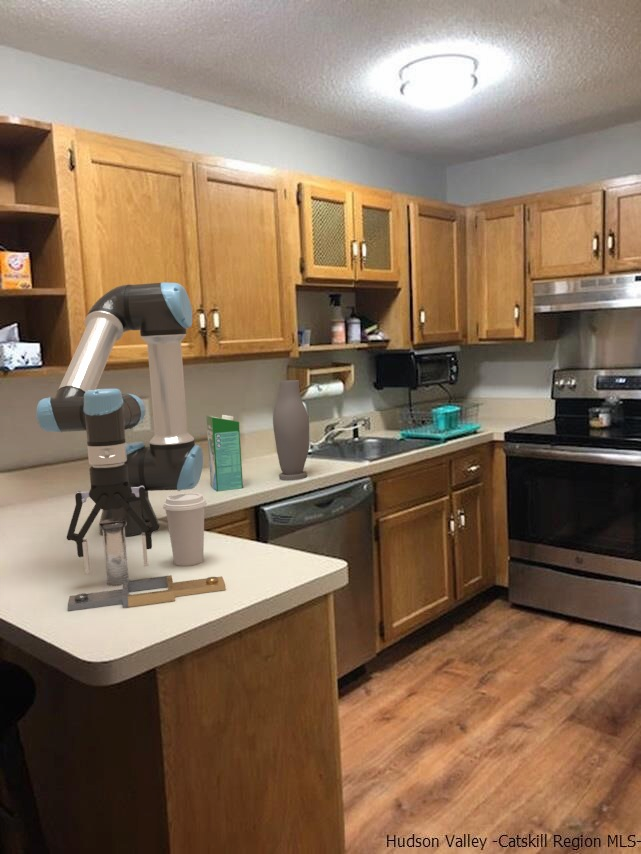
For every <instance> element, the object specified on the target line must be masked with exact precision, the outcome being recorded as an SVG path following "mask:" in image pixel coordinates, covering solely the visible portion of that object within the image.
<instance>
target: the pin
mask: <svg viewBox="0 0 641 854" xmlns="http://www.w3.org/2000/svg"><path fill="white" fill-rule="evenodd" d="M98 523H99V524H100V529H103V535H102V539H103V549H104V550H103V551H104V563H105V572H106V573H105V574H106V584H107V585H108V586H111V585H112V587H113V586H116V585H117V586H122V585H121V584H123V581H130V577H129V567H128V566H129V564H128V552H127V551H128V550H127V541H126V536H125V526H126V525H127V520H126V519H124V518H113V519H107V520H103V521H101V522H100V521H99V522H98ZM99 524H98V525H99Z"/></svg>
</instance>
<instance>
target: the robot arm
mask: <svg viewBox="0 0 641 854" xmlns="http://www.w3.org/2000/svg"><path fill="white" fill-rule="evenodd" d="M83 324H84V328H85V330H84V332H83V333H82V336H81V339H80V341H79V343H78V345H77V347H76V350H75V352H74V354H73V356H72V359H71V361H70V363H69V365H68V367H67V369H66V371H65V374H64V376H63V379H62V380H61V382H60V385H59V387H58V390H57V391H56V393H55V395H54V397H52V396H49V397H44V398H42V399H41V400H39V401H38V403H37V406H36V412H35V417H36V421H37V423H38V424H39V427H40V429H41V430H43V431H44V432H48V433H50V432H51V433H65V432H66V433H67V432H69V433H70V432H84V431H85V433H86V441H87V445H86V446H87V455H88V457H87V458H88V464H89V465H91V466H90V467H89V480H90V481H89V482H90V490H89V491H81V490H78V491H76V493H75V497H74V498H75V506H74V509H73V510H74V511H73V513H72V516H71V521H70V524H69V527H68V530H67V534H66V540H67V541H74V542H75V543H76V551H77V556H78V557H79V558H83V564H84V565H83V566H84V567H83V569H84V574H85V575H86V574H89V573H90V569H91V567H90V559H89V548H88V547H89V546H88V538H85V537H86V534H87V532H89V530H90V528H91V526H92V524H93V522H94V521H95V520H96V519H97V516H98V514H99V513H100V511H101V510H102V511H101V515H100V519H99V523H100V522H101V521H103V520H107V519H113V518H124V519H126V520H127V525H126V526H125V537H128V536H129V537H130V536H136V535H141V543H142V554H143V555H142V556H143V557H142V559H143V566H144V567H148V566H149V564H148V552H147V550H152V547H153V542H152V539H153V538H152V534H153V533H155V532H158V531H159V530H160V523H159V522H158V518H157V515H156V513H155V511H154V508H153V506H152V504H151V501H150V498H149V492H150V491H178V492H181V491H184V490H185V491H186V490H193V489H194V488H195V487H197V485H198V484H199V482H200V479H201V476H202V472H203V465H204V454H203V449H202V447H201V446H200V445H198V444H195V438H194V436H193V435H191V434H190V433H189V430H188V429H189V428H188V417H187V415H188V414H187V405H186V404H187V403H186V390H185V378H184V377H185V376H184V365H183V364H184V362H183V352H182V341H183V340H184V338H186V336H187V329H189V328H191V327H192V325H193V309H192V303H191V301H190V297H189V295H188V292H187V291H186V288H184V286H183V285H181V284H180V283H179V282H178V283H177V282H166V281H163V282H155V283H153V282H152V283H141V284H138V283H137V284H124V285H123V284H122V285H119V286H116V287H114V288H112V289H110V290H109V291H107V292H106V293H105V294H103V295H101V297H99V299H98V300H97V301H95V302H94V304H93V305H92V306H91V307H90V309H89V310H88V312H87V314H86V317H85V319H84V323H83ZM128 331H139V333H140V334H139V335H140V338H141V339H142V341H144V342H145V343H146V344H147V345H146V346H147V356H148V368H149V380H150V393H151V404H152V416H153V428H154V429H153V430H154V436H153V437H152V438H151V439H150V441H149V447H146V443H145V442H144V441H133V442H127V443H126V430H131V429H133V428H135V427H136V426H138V425H139V424H141V423H142V421H143V420H144V419H145V416H146V406H145V404H144V401H143V400H142V399H141V398H140V397H139V396H138V395H135V394H132V393H122V391H121V389H119V388H98V385H99V382H100V380H101V377H102V375H103V373H104V370H105V368H106V365H107V363H108V360H109V358H110V356H111V353H112V350H113V348H114V346H115V342H117V341H118V340H120V339H121V338H122V336H123V334H124V333H126V332H128ZM88 498H90V499H91V500H92V501H93V503H94V506H93V508H92V509H91V511H90V513H89V515H88V516H87V517H86V520H85V521H84V523H83V525H82V526H81V528H80V530H79V532H78V533H76V527H77V524H78V521H79V518H80V515H81V511H82V507H83V505H84V503H86V502H87V499H88ZM98 528H99V534H100V535H102V536H103V529H100V524H98Z"/></svg>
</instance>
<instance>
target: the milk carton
mask: <svg viewBox="0 0 641 854" xmlns="http://www.w3.org/2000/svg"><path fill="white" fill-rule="evenodd" d="M206 429H207V443H208V458H209V459H208V460H209V477H210V487H212V489H214V490H215V491H216V492H221V491H229V490H238V489H243V488H244V484H243V483H244V482H243V468H242V467H243V466H242V449H241V448H242V447H241V433H240V422H239V421H238V420H235V419H234V416H233V415H225V414H221V417H219V416H214V415H208V414H207V415H206Z"/></svg>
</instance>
